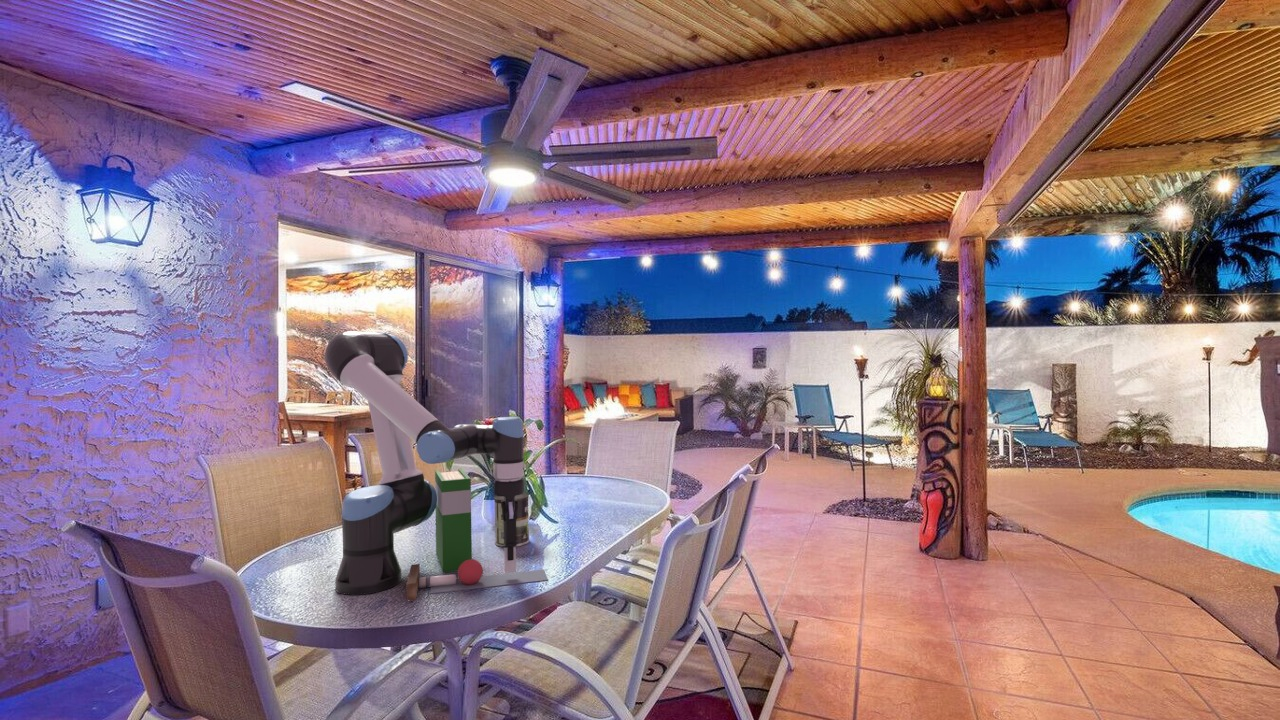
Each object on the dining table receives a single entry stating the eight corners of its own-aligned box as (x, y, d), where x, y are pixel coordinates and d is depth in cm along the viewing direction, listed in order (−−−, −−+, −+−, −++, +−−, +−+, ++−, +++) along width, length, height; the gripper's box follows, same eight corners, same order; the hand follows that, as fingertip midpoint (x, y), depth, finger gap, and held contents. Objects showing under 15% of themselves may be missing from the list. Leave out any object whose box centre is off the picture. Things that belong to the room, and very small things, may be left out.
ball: (472, 558, 149) (488, 575, 150) (471, 551, 154) (487, 568, 156) (452, 575, 147) (469, 593, 148) (452, 568, 153) (468, 585, 154)
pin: (455, 582, 150) (418, 585, 148) (455, 586, 152) (419, 589, 150) (455, 572, 151) (419, 575, 149) (456, 576, 153) (420, 579, 151)
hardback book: (436, 553, 176) (435, 470, 176) (462, 549, 179) (461, 468, 179) (443, 572, 160) (441, 481, 160) (471, 568, 163) (470, 478, 163)
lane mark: (430, 594, 145) (430, 593, 145) (431, 582, 153) (431, 581, 153) (548, 580, 153) (548, 579, 153) (543, 570, 161) (543, 569, 161)
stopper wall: (406, 601, 141) (406, 584, 141) (411, 580, 154) (411, 564, 154) (416, 600, 141) (415, 583, 141) (419, 579, 155) (419, 563, 155)
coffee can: (528, 536, 192) (527, 491, 192) (530, 545, 182) (529, 498, 182) (494, 539, 190) (493, 493, 190) (494, 548, 180) (494, 501, 180)
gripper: (526, 482, 149) (528, 578, 149) (521, 473, 162) (522, 562, 162) (495, 484, 147) (496, 582, 147) (492, 474, 160) (493, 565, 160)
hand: (510, 571), depth 154 cm, fingers closed
